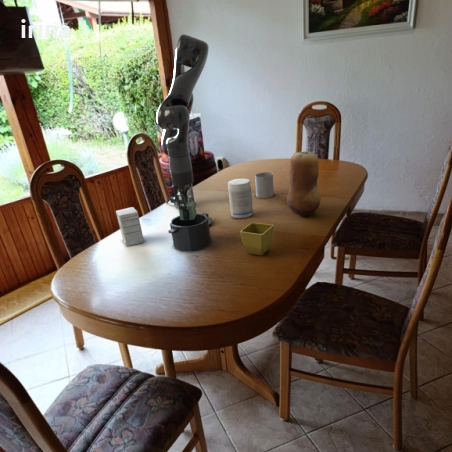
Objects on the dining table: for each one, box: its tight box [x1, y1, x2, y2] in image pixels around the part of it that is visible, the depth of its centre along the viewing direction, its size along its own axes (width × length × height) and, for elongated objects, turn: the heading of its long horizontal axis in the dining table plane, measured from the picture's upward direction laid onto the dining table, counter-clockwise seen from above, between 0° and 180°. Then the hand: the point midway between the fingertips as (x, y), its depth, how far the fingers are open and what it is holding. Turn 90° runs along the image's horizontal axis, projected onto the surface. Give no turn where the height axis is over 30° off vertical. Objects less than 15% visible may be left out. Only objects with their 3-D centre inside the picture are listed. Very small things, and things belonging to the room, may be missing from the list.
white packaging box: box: [115, 206, 145, 247], centre depth 157 cm, size 7×7×13 cm
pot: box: [167, 212, 212, 253], centre depth 150 cm, size 14×19×10 cm
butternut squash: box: [286, 150, 322, 218], centre depth 161 cm, size 14×13×25 cm
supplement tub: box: [227, 178, 254, 219], centre depth 170 cm, size 10×10×15 cm
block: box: [177, 202, 197, 220], centre depth 146 cm, size 5×5×5 cm
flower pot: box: [239, 221, 275, 256], centre depth 138 cm, size 9×9×9 cm
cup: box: [254, 171, 275, 199], centre depth 192 cm, size 8×8×10 cm
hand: (188, 216), depth 147 cm, fingers closed on block, 5 cm apart
